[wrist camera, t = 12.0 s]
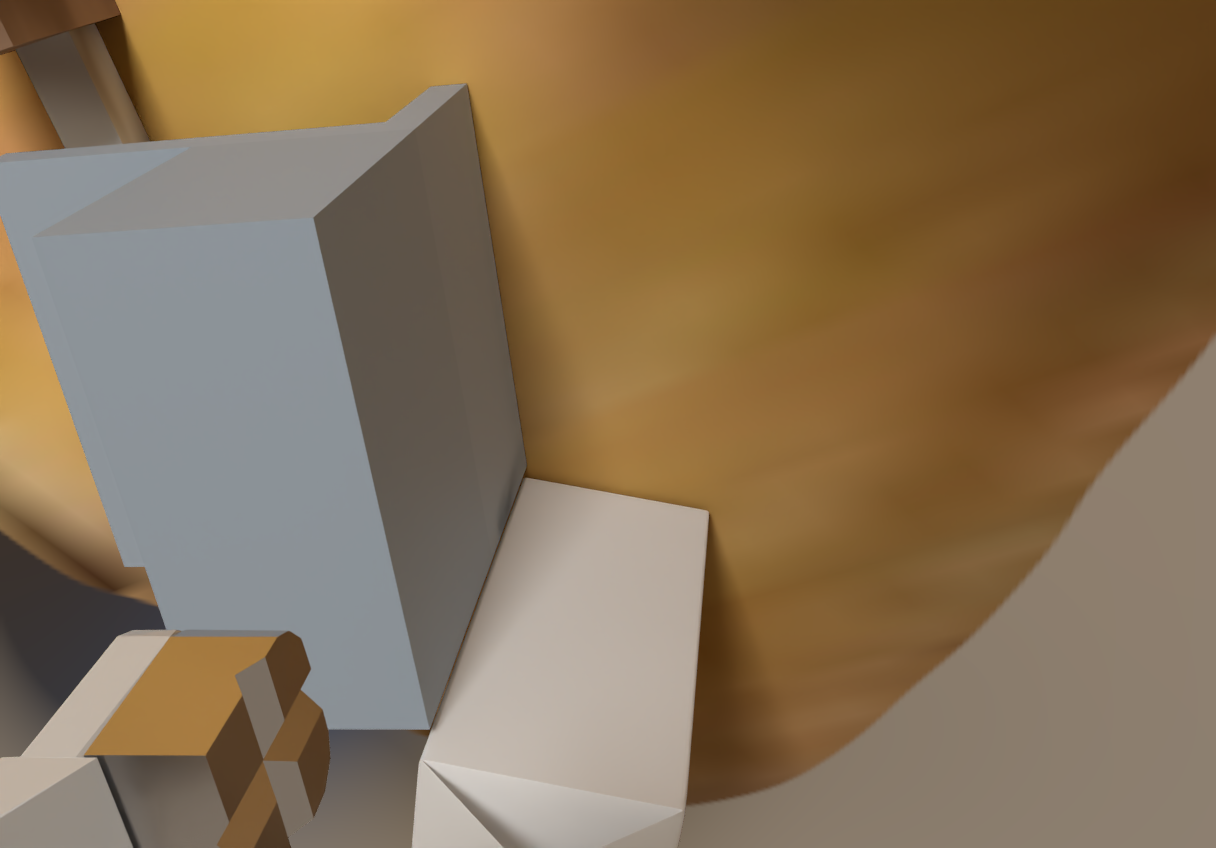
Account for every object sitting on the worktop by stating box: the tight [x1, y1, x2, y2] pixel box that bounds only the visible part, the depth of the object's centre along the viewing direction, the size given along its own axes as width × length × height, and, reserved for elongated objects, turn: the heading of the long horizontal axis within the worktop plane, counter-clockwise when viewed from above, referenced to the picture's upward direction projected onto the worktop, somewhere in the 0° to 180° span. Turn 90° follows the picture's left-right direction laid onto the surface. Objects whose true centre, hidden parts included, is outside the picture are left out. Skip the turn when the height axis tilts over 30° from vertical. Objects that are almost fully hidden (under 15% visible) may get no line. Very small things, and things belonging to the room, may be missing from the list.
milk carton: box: [412, 478, 709, 848], centre depth 36 cm, size 7×7×19 cm
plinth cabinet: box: [0, 84, 527, 729], centre depth 34 cm, size 14×13×14 cm
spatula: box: [0, 0, 150, 149], centre depth 37 cm, size 17×4×6 cm, turn 17°
